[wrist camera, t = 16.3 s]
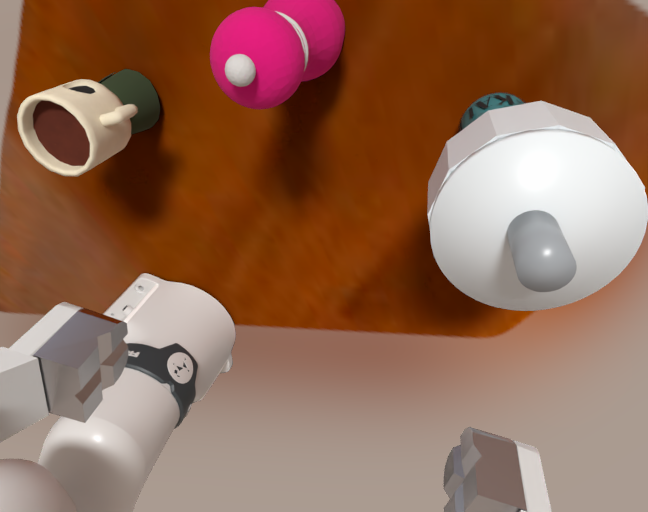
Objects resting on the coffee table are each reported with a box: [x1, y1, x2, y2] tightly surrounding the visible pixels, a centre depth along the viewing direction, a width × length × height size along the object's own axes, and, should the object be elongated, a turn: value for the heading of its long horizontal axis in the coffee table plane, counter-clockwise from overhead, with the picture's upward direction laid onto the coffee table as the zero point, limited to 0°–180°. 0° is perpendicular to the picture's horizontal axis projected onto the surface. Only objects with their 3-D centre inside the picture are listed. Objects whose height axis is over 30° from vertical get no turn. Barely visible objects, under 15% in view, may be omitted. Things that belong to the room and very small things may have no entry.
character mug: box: [17, 69, 160, 176], centre depth 45 cm, size 11×7×13 cm, turn 107°
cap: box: [428, 101, 648, 311], centre depth 28 cm, size 12×12×10 cm
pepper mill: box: [210, 0, 345, 109], centre depth 35 cm, size 7×7×20 cm
